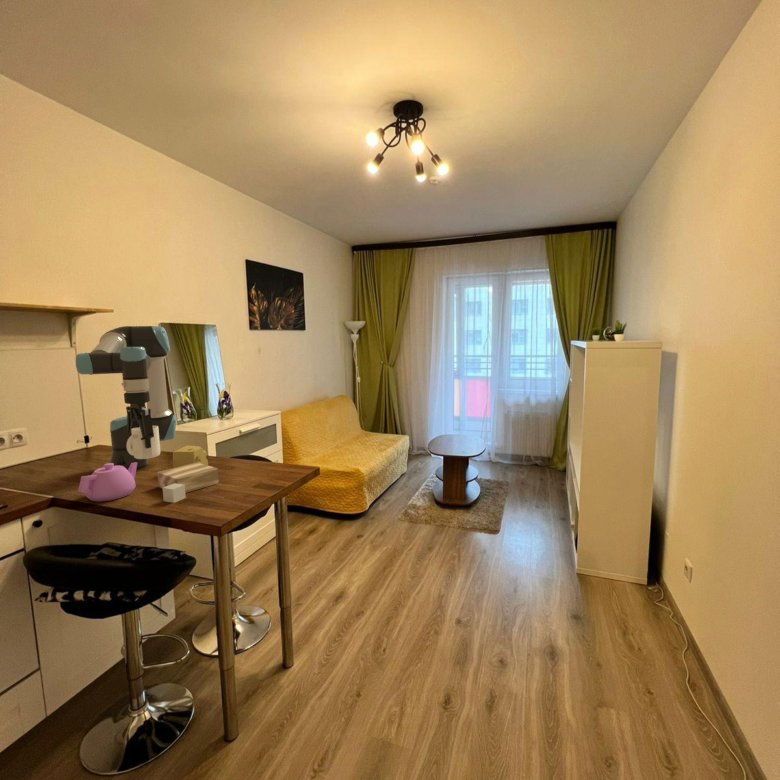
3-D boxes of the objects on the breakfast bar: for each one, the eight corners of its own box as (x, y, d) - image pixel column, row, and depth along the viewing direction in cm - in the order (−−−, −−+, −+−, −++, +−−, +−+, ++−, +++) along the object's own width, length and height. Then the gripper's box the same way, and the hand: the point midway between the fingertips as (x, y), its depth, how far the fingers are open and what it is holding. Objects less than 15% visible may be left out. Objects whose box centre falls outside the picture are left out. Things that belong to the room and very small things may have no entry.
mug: (138, 463, 138) (135, 433, 136) (118, 461, 140) (115, 432, 139) (166, 453, 149) (163, 425, 148) (147, 452, 151) (145, 425, 150)
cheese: (208, 466, 188) (207, 445, 187) (195, 474, 177) (193, 451, 176) (187, 466, 189) (185, 445, 188) (172, 473, 178) (170, 451, 177)
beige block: (163, 501, 146) (162, 487, 146) (175, 496, 151) (174, 483, 150) (173, 503, 144) (172, 489, 144) (185, 498, 149) (184, 484, 149)
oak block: (158, 486, 161) (157, 472, 161) (197, 476, 174) (196, 462, 173) (178, 495, 152) (177, 479, 151) (218, 482, 165) (217, 468, 164)
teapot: (97, 508, 141) (94, 474, 139) (66, 503, 146) (62, 470, 144) (153, 487, 161) (150, 457, 160) (124, 483, 166) (121, 454, 165)
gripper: (112, 390, 145) (118, 453, 148) (137, 394, 133) (143, 462, 136) (135, 388, 151) (140, 448, 154) (161, 392, 139) (167, 457, 141)
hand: (142, 455), depth 145 cm, fingers closed on mug, 8 cm apart
